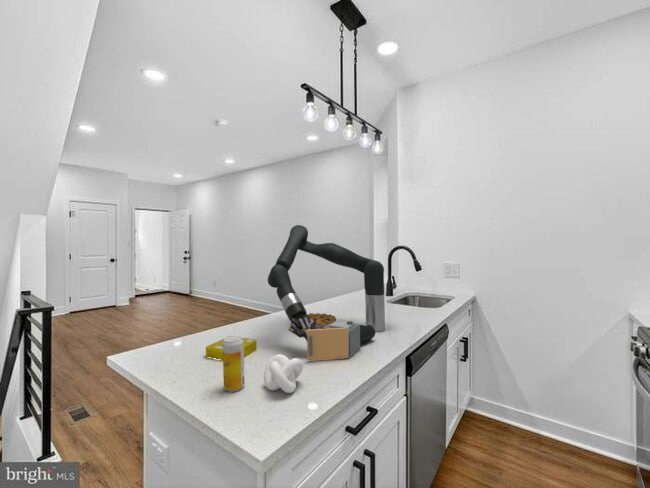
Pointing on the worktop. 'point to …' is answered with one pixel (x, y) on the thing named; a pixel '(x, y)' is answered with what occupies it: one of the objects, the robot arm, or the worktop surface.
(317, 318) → the pie
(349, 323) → the grey matte box
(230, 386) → the amber medicine vial
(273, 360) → the white decorative knot
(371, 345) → the worktop surface
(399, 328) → the worktop surface
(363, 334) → the end cap
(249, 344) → the element tile
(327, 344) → the side door
